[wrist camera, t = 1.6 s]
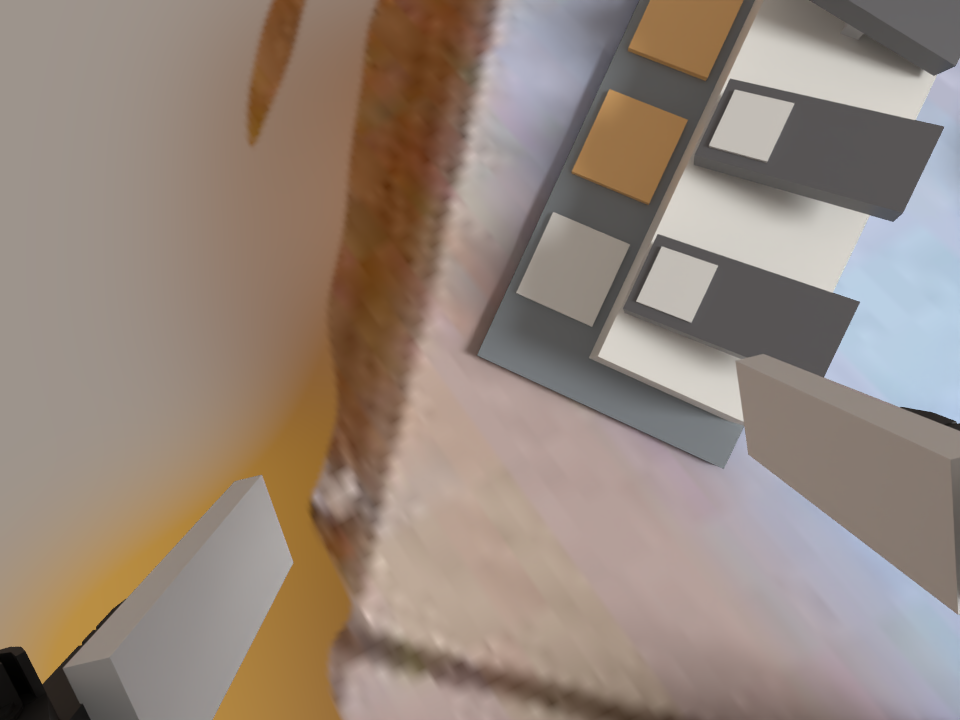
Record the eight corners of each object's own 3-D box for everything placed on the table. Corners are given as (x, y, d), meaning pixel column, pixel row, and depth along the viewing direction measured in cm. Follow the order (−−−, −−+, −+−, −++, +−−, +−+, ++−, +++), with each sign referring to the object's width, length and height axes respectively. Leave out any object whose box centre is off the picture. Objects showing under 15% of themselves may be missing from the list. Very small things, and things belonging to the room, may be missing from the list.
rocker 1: (852, 307, 27) (861, 301, 26) (813, 387, 27) (820, 385, 26) (658, 240, 31) (657, 232, 29) (624, 313, 31) (622, 308, 30)
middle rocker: (932, 139, 27) (945, 125, 26) (893, 221, 27) (904, 211, 26) (727, 91, 30) (730, 76, 29) (693, 164, 31) (694, 153, 29)
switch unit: (942, -2, 36) (1059, -110, 28) (718, 466, 37) (768, 494, 29) (683, -93, 38) (722, -219, 30) (478, 355, 39) (462, 352, 31)
